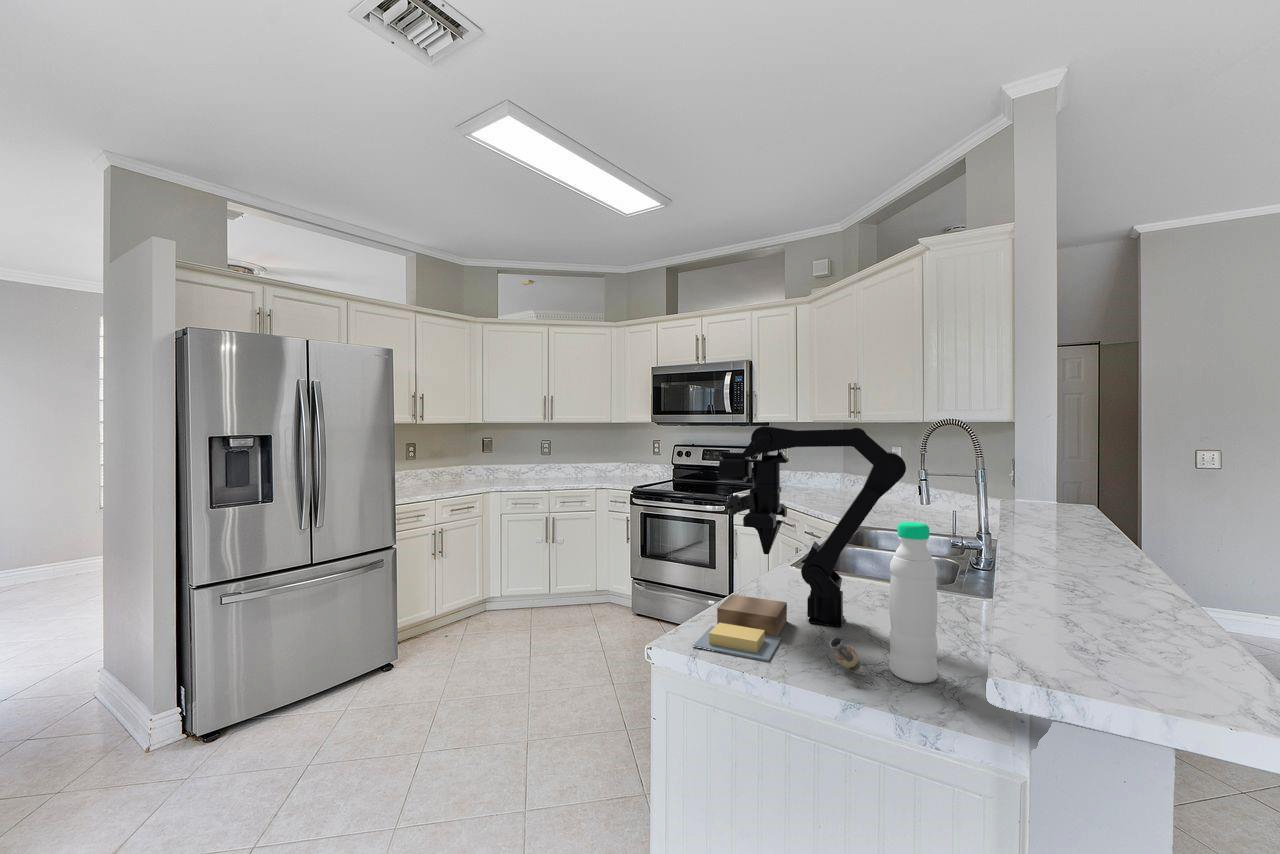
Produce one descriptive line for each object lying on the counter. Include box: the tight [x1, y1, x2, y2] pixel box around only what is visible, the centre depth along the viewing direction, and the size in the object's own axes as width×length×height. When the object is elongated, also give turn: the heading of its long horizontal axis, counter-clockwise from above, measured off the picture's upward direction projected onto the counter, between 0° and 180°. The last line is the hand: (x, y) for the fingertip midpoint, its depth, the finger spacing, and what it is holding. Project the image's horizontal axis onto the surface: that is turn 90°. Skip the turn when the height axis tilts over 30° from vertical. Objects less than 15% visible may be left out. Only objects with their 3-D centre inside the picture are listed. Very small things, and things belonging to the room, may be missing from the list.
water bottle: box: [889, 521, 938, 684], centre depth 89 cm, size 7×7×25 cm
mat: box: [692, 625, 782, 663], centre depth 102 cm, size 14×11×1 cm
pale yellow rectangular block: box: [709, 623, 765, 653], centre depth 102 cm, size 9×6×2 cm, turn 64°
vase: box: [828, 637, 870, 679], centre depth 90 cm, size 5×5×6 cm
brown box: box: [716, 594, 788, 637], centre depth 112 cm, size 12×10×4 cm
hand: (766, 553), depth 119 cm, fingers closed
